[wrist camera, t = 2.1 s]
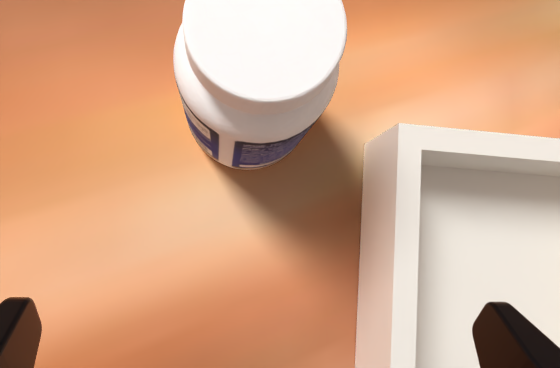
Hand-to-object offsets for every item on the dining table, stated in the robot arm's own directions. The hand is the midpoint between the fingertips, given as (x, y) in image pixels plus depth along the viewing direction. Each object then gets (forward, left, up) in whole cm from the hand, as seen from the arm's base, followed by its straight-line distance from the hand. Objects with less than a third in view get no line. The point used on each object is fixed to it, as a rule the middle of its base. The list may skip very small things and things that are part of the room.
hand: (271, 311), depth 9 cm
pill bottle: (0, +7, -13) cm, 15 cm away
